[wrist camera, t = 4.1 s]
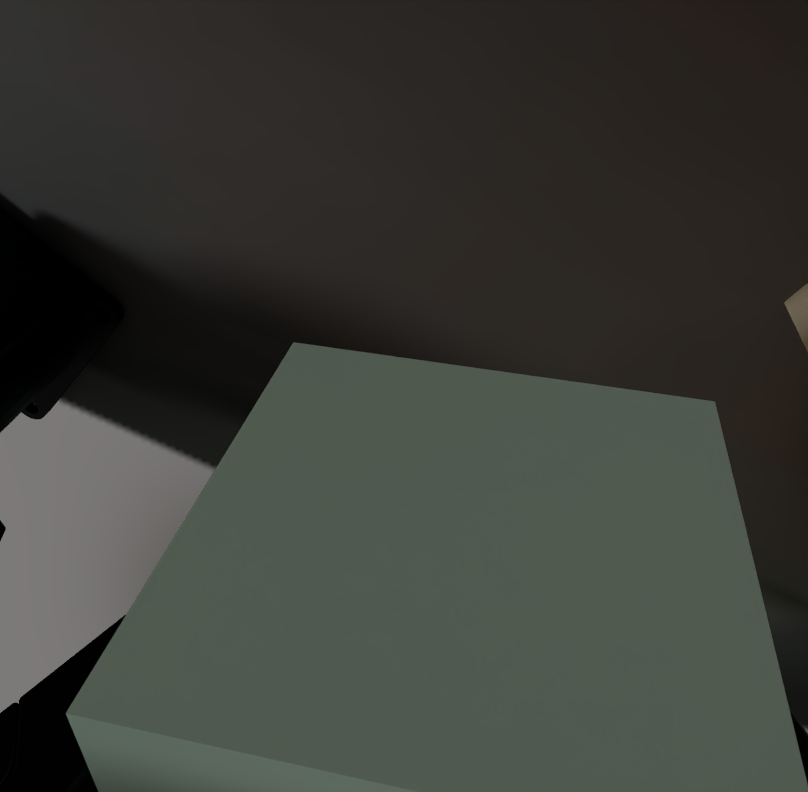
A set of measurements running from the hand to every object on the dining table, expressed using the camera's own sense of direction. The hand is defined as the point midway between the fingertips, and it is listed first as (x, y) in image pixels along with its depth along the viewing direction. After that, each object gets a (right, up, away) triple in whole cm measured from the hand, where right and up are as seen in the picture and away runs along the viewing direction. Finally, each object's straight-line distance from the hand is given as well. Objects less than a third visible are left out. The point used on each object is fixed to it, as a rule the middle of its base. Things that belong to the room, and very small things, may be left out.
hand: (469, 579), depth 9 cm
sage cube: (0, +1, +1) cm, 1 cm away
